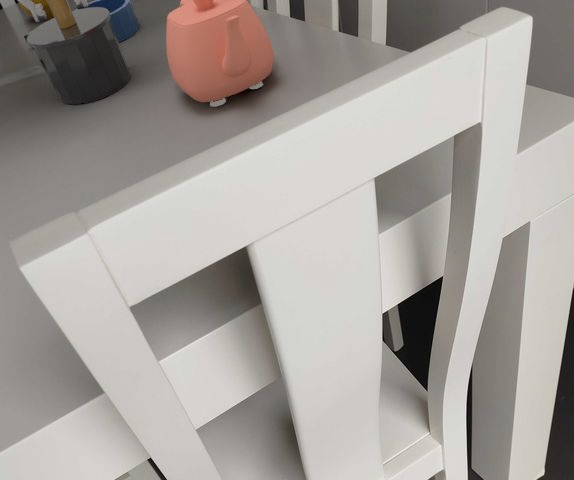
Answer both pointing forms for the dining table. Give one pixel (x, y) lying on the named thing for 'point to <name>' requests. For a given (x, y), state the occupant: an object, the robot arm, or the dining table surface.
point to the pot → (86, 67)
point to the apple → (45, 8)
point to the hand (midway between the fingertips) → (62, 13)
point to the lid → (67, 25)
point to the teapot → (217, 48)
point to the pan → (119, 16)
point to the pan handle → (26, 35)
